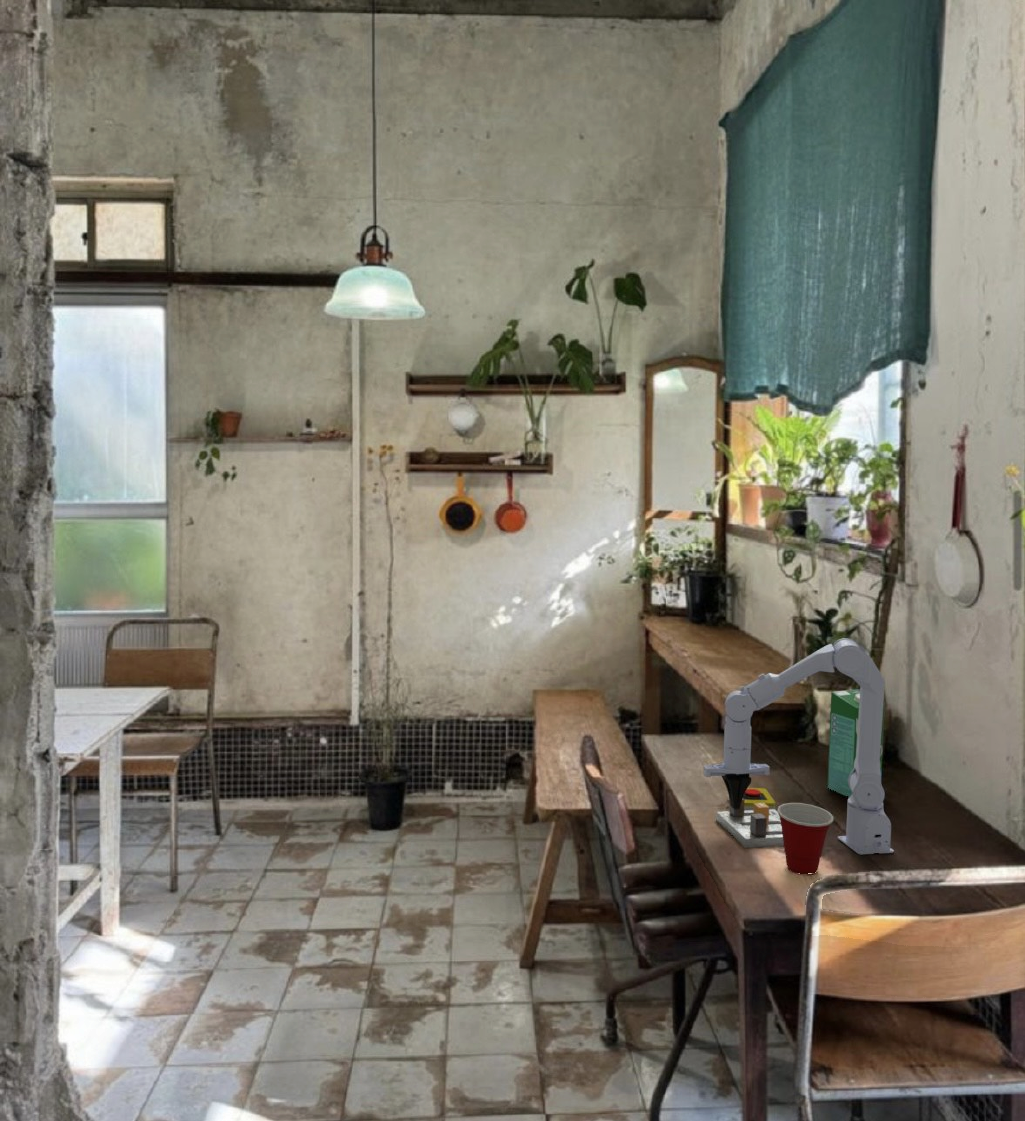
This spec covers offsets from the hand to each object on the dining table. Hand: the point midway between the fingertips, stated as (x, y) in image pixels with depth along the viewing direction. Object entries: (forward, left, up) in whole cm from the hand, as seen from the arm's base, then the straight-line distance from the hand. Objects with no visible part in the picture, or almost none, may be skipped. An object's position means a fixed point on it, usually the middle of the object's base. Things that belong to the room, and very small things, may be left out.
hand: (735, 807), depth 215 cm
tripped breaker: (0, -6, -4) cm, 7 cm away
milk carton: (+24, -41, -6) cm, 48 cm away
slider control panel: (0, -6, -6) cm, 8 cm away
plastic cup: (-21, -6, -6) cm, 23 cm away
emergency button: (+17, -11, -7) cm, 21 cm away
